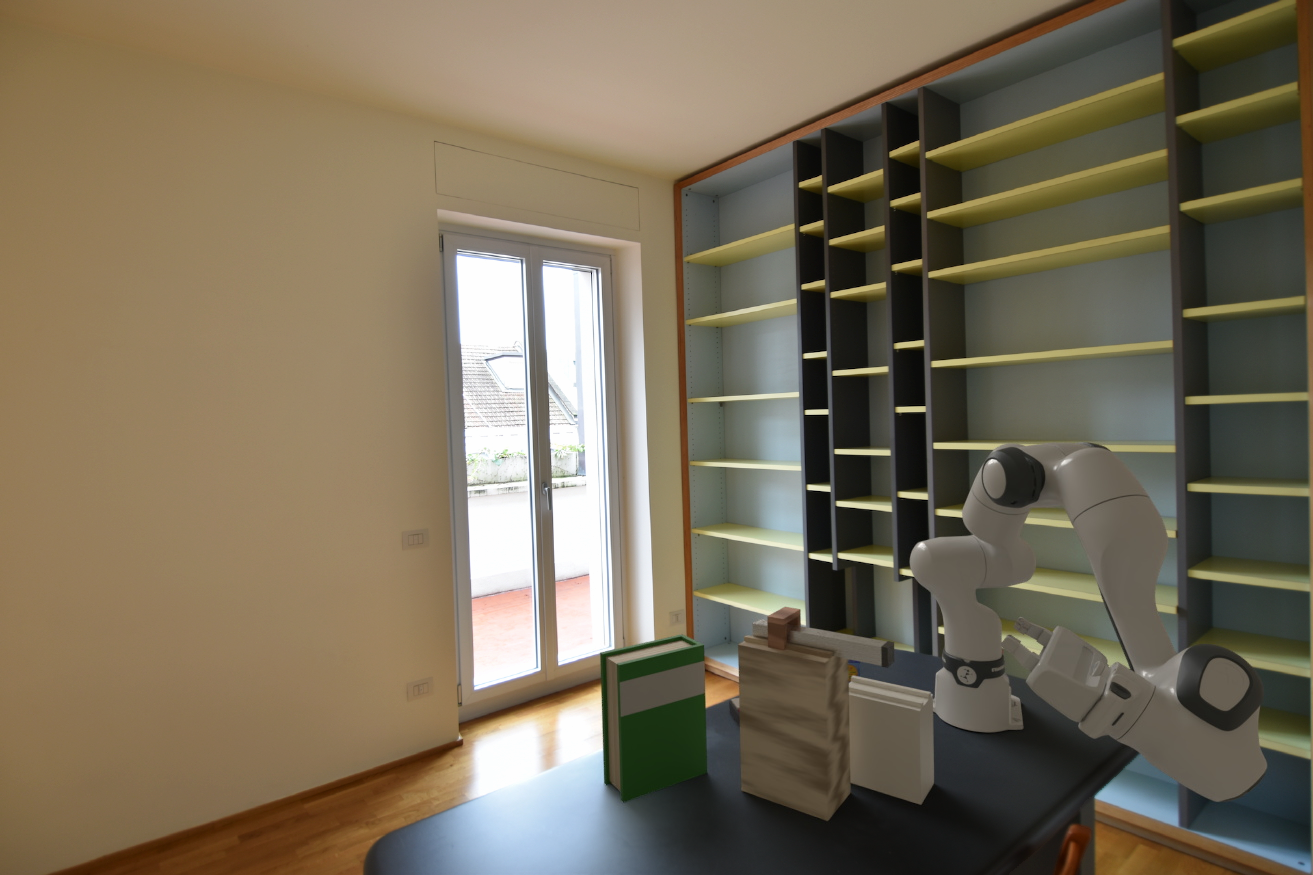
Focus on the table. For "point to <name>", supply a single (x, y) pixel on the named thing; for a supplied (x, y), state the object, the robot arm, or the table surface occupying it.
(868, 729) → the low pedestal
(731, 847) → the table surface
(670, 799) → the table surface
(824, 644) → the grey square bar
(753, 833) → the table surface
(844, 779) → the paper bag with handle
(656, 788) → the hardback book
